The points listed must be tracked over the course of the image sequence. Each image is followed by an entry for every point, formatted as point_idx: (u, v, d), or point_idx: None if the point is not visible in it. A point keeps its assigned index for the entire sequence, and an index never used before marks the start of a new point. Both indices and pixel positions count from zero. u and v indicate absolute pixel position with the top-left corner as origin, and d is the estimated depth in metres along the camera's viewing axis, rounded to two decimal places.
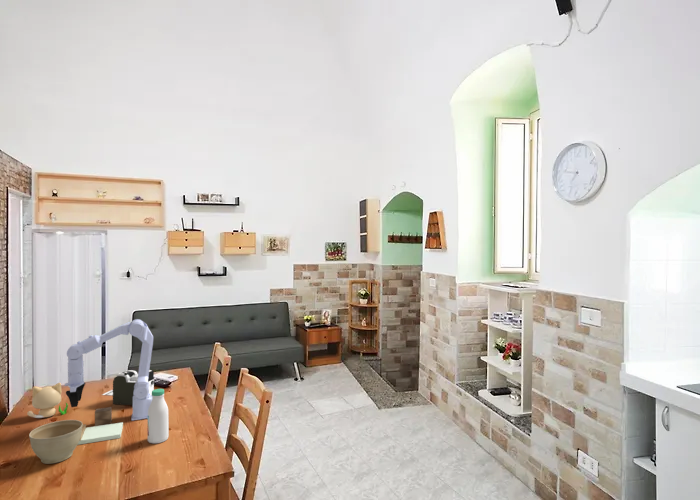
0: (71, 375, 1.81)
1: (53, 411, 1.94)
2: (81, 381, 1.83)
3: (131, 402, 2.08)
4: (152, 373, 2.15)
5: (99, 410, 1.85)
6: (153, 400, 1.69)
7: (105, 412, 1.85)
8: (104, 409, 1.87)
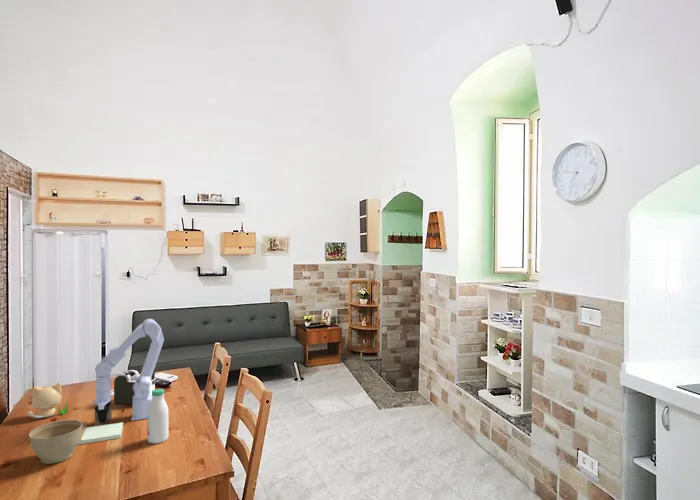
0: (99, 392, 1.84)
1: (53, 411, 1.94)
2: (108, 398, 1.86)
3: (132, 401, 2.09)
4: (153, 373, 2.16)
5: None
6: (153, 400, 1.69)
7: None
8: None
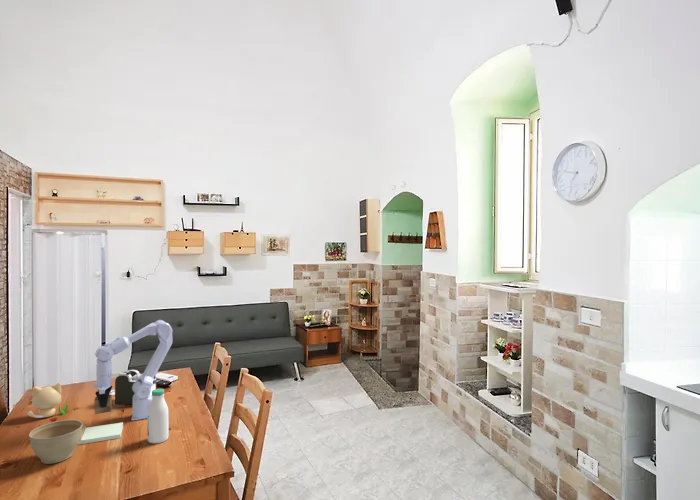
0: (100, 377, 1.83)
1: (53, 411, 1.94)
2: (109, 383, 1.85)
3: None
4: None
5: None
6: (153, 400, 1.69)
7: None
8: None
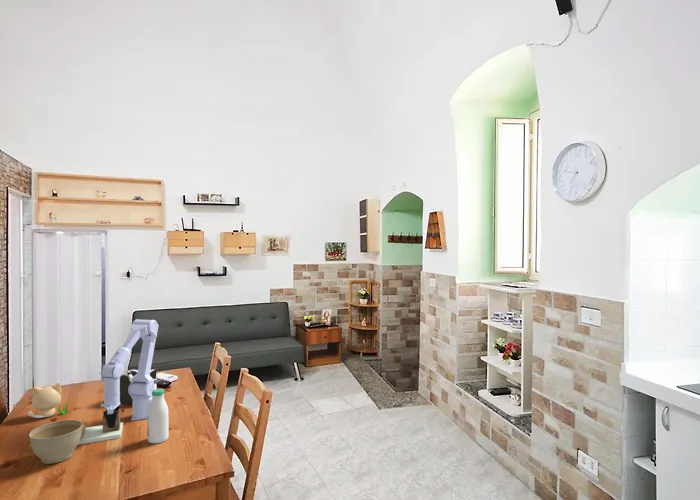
0: (108, 396, 1.74)
1: (53, 411, 1.94)
2: (117, 402, 1.76)
3: None
4: (155, 372, 2.17)
5: None
6: (153, 400, 1.69)
7: None
8: None
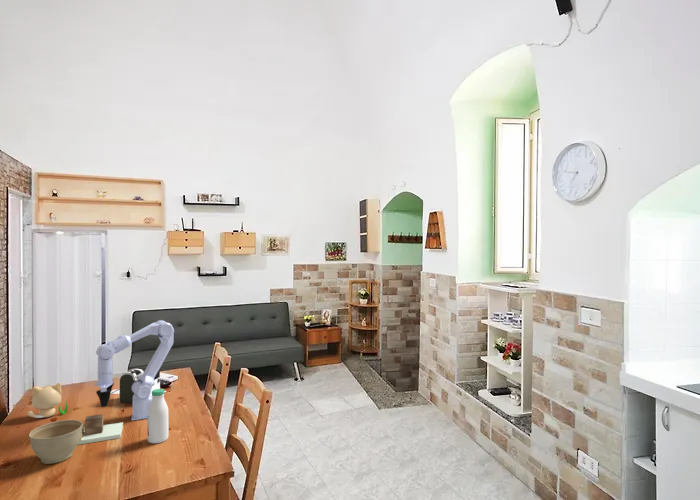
0: (101, 375, 1.82)
1: (53, 411, 1.94)
2: (111, 381, 1.85)
3: None
4: (158, 371, 2.18)
5: (90, 418, 1.73)
6: (153, 400, 1.69)
7: (96, 420, 1.73)
8: (95, 416, 1.74)
